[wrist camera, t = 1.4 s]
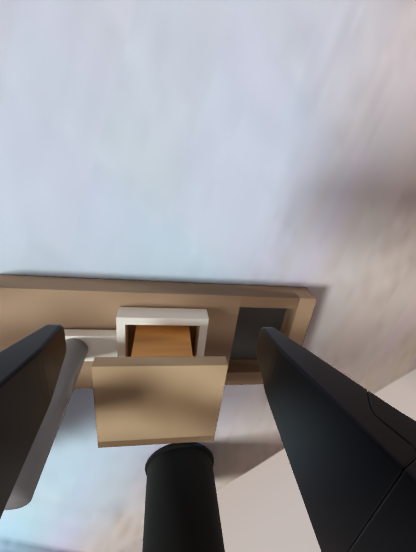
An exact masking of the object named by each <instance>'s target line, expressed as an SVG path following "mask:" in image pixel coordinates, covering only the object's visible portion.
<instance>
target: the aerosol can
mask: <svg viewBox="0 0 416 552" xmlns="http://www.w3.org/2000/svg"><path fill="white" fill-rule="evenodd" d="M213 464H214V458H213V455H212V453H211V452H210V451H209V450H208V449H207V448H206V447H204V446H202V445H199V444H195V443H188V442H186V443H175V444H171V445H168V446H165V447H163V448H161V449H159V450H157V451H156V452H155V453H153V454H152V455H151V456H150V458H149V459H148V460H147V463H146V465H145V472H146V475H147V484H146V501H145V517H144V534H143V552H225V550H224V544H223V536H222V529H221V523H220V516H219V508H218V501H217V494H216V487H215V480H214V473H213Z"/></svg>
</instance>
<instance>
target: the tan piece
mask: <svg viewBox="0 0 416 552" xmlns="http://www.w3.org/2000/svg"><path fill="white" fill-rule="evenodd" d="M316 301H317V298H316V297H315V296H314V295H313V294H312V293H311V292H310V291H309V290H308V289H307V288H301V287H278V286H254V285H231V284H207V283H184V282H160V281H136V280H113V279H89V278H66V277H42V276H18V275H0V351H2V350H4V349H6V348H7V347H9V346H11V345H12V344H14V343H16V342H18V341H19V340H21V339H23V338H25V337H26V336H28V335H30V334H31V333H33V332H35V331H37V330H38V329H40V328H42V327H43V326H45V325H48V324H61V325H62V326H63V327H64V329H85V330H116V316H117V313H118V309H119V307H146V308H184V309H207V313H208V318H209V322H208V329H207V336H206V344H205V351H204V356H190V357H131V354H132V348H133V343H134V337H135V331H136V325H128V357H95V358H94V361H84V363H83V366H82V368H81V371H80V374H79V376H78V379H77V382H76V384H75V387H74V388H93V391H94V403H95V415H96V427H97V439H98V448H101V447H118V446H135V445H152V444H169V443H186V442H203V441H214V436H215V431H216V426H217V421H218V415H219V410H220V405H221V400H222V394H223V389H224V385H243V384H263V380H262V376H261V372H260V367H259V363H258V359H257V355H256V345H257V341H258V337H259V333H260V330H261V328H263V327H273V328H275V329H277V330H278V331H280V332H281V333H283V334H284V335H286V336H287V337H289V338H290V339H292V340H293V341H295V342H296V343H298V344H299V345H301V346H302V344H303V341H304V338H305V335H306V331H307V328H308V325H309V322H310V319H311V316H312V313H313V310H314V307H315V304H316ZM196 329H197V326H189V330H190V338H191V346H192V354H194V346H195V337H196Z"/></svg>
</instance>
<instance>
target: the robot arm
mask: <svg viewBox="0 0 416 552" xmlns="http://www.w3.org/2000/svg"><path fill="white" fill-rule="evenodd" d="M65 355H66V340H65V332H64V327H63V326H62V325H61V324H48V325H45V326H43V327H42V328H40V329H38V330H37V331H35V332H33V333H31V334H30V335H28V336H26V337H25V338H23V339H21V340H19V341H18V342H16V343H14V344H12V345H11V346H9V347H7V348H6V349H4V350H2V351H0V518H1V516H2V513H3V511H4V509H5V507H6V504H7V502H8V500H9V497H10V495H11V493H12V491H13V488H14V486H15V484H16V481H17V479H18V477H19V475H20V472H21V470H22V468H23V465H24V463H25V461H26V459H27V456H28V454H29V452H30V449H31V447H32V445H33V442H34V440H35V438H36V436H37V433H38V431H39V429H40V426H41V424H42V422H43V420H44V417H45V415H46V413H47V410H48V408H49V405H50V403H51V400H52V397H53V394H54V391H55V388H56V384H57V381H58V378H59V374H60V371H61V368H62V365H63V361H64V358H65ZM256 355H257V359H258V363H259V367H260V372H261V376H262V380H263V384H264V389H265V393H266V396H267V399H268V402H269V405H270V408H271V411H272V414H273V416H274V419H275V422H276V425H277V428H278V430H279V433H280V436H281V439H282V442H283V445H284V447H285V450H286V453H287V456H288V458H289V461H290V464H291V467H292V470H293V473H294V476H295V478H296V481H297V484H298V487H299V490H300V492H301V495H302V498H303V501H304V504H305V507H306V509H307V512H308V515H309V518H310V521H311V523H312V526H313V529H314V532H315V534H316V537H317V540H318V543H319V546H320V549H321V552H416V421H414V420H413V419H411V418H410V417H408V416H406V415H405V414H403V413H401V412H400V411H398V410H397V409H395V408H394V407H392V406H390V405H389V404H388V403H386V402H384V401H383V400H381V399H380V398H378V397H377V396H375V395H374V394H372V393H371V392H369V391H368V392H367V390H366V389H365V388H363V387H362V386H360V385H359V384H357V383H356V382H354V381H353V380H351V379H350V378H348V377H347V376H345V375H344V374H342V373H341V372H339V371H338V370H336V369H335V368H334V367H332V366H331V365H329V364H328V363H326V362H325V361H323V360H322V359H320V358H319V357H317V356H316V355H314V354H313V353H311V352H310V351H308V350H307V349H305V348H304V347H302V346H301V345H299V344H298V343H296V342H295V341H293V340H292V339H290V338H289V337H287V336H286V335H284V334H283V333H281V332H280V331H278V330H277V329H275V328H273V327H263V328H261V330H260V333H259V337H258V341H257V345H256Z"/></svg>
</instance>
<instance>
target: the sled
mask: <svg viewBox="0 0 416 552" xmlns="http://www.w3.org/2000/svg"><path fill="white" fill-rule="evenodd" d="M208 322H209V318H208V313H207V309H184V308H146V307H119V309H118V313H117V316H116V330H85V329H64V332H65V340H66V355H65V358H64V361H63V365H62V368H61V371H60V374H59V378H58V381H57V384H56V388H55V391H54V394H53V397H52V400H51V403H50V405H49V408H48V410H47V413H46V415H45V417H44V420H43V422H42V424H41V426H40V429H39V431H38V433H37V436H36V438H35V440H34V442H33V445H32V447H31V449H30V452H29V454H28V456H27V459H26V461H25V463H24V465H23V468H22V470H21V472H20V475H19V477H18V479H17V481H16V484H15V486H14V488H13V491H12V493H11V495H10V497H9V500H8V502H7V504H6V507H5V509H4V510H12V509H17V508H21V507H23V506H25V505H27V504H28V503H29V502H30V501H31V499H32V497H33V494H34V491H35V489H36V486H37V484H38V481H39V478H40V476H41V473H42V470H43V468H44V465H45V463H46V460H47V457H48V455H49V452H50V450H51V447H52V444H53V442H54V439H55V436H56V434H57V431H58V429H59V426H60V423H61V421H62V418H63V416H64V413H65V410H66V408H67V405H68V402H69V400H70V397H71V395H72V392H73V389H74V387H75V384H76V382H77V379H78V376H79V374H80V371H81V368H82V366H83V363H84V361H94V358H95V357H128V325H181V326H197V329H196V337H195V346H194V354H193V356H204V351H205V344H206V336H207V329H208Z"/></svg>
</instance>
